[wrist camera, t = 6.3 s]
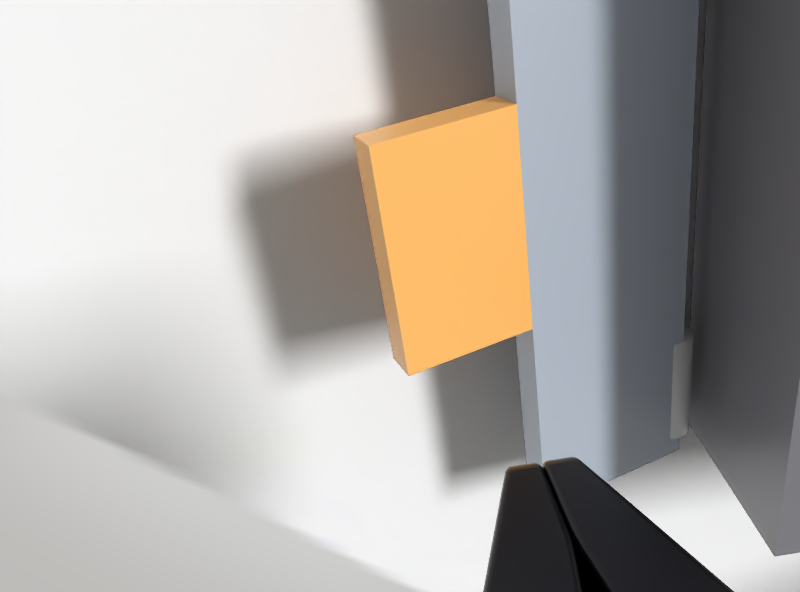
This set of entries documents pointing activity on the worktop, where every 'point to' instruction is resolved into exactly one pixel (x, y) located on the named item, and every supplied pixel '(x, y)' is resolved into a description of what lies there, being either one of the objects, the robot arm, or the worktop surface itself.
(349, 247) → the worktop surface
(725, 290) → the cabinet housing
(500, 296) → the door
